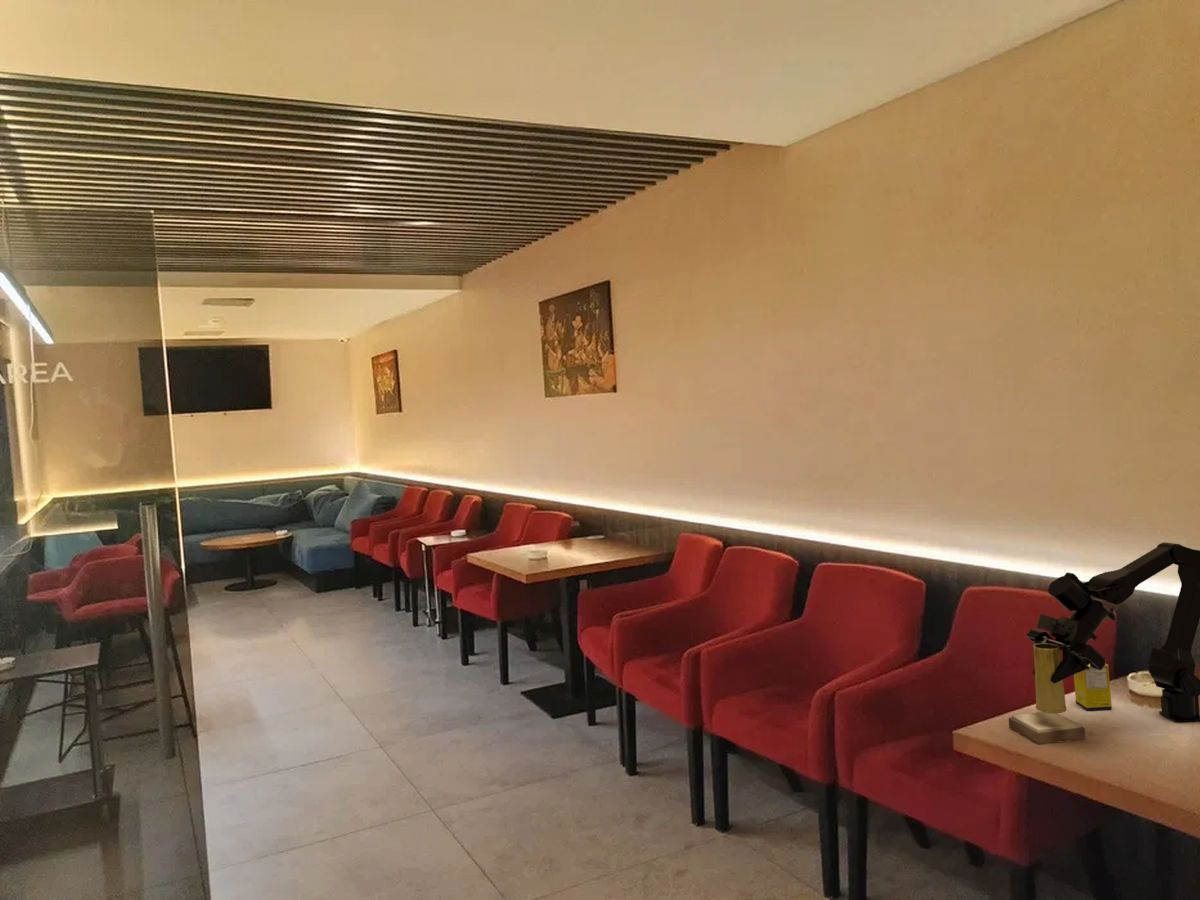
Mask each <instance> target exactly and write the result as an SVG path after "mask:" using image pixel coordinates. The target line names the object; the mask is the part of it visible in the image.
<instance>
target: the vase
mask: <svg viewBox="0 0 1200 900" xmlns="http://www.w3.org/2000/svg"><path fill="white" fill-rule="evenodd" d="M1033 658H1034V659H1033V661H1034V663H1033V664H1034V666H1035V675H1034V683H1035V709H1036V711H1037V710H1038V711H1039V712H1045V713H1057V714H1062V713H1065V712H1067V708H1068V707H1067V706H1066V705H1067V704H1066V696H1065V688H1064V679H1063V680H1061V681H1059V682H1057V683H1052V682H1051V678H1052V676H1053V674H1054V672H1055V671H1056V669H1057V667H1058V666H1059V664H1060V662H1061V661H1062V660H1061V651H1060V647H1059V646H1058V645H1056V644H1051V643H1038V644H1033Z"/></svg>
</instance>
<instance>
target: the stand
mask: <svg viewBox="0 0 1200 900" xmlns="http://www.w3.org/2000/svg"><path fill="white" fill-rule="evenodd" d="M1008 728H1009V729H1010V728H1011V730H1012V731H1014V732H1015V731H1016V733H1017V732H1018V733H1017V734H1019V735H1020V736H1023V737H1024V736H1025V738H1026V739H1028V740H1030V741H1031V740H1032V742H1033V741H1034V742H1033V743H1035V744H1037V745H1045V744H1044V743H1047V744H1052V743H1051V742H1056V743H1060V742H1059V741H1064V742H1068V741H1067V740H1072V741H1079V740H1078V739H1081V740H1086V729H1085V727H1083V726H1082V725H1081V724H1080V723H1077V722H1076V721H1073V720H1072V719H1069V718H1067V717H1065V716H1064V715H1061V714H1060V713H1045V712H1041V711H1039V712H1030V713H1023V714H1022V713H1021V714H1015V715H1011V717H1008Z"/></svg>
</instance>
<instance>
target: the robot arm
mask: <svg viewBox="0 0 1200 900" xmlns="http://www.w3.org/2000/svg"><path fill="white" fill-rule="evenodd" d="M1172 565H1176V566H1177V575H1178V577H1179V581H1180V583H1181V584H1180V585H1181V586H1180V589H1179V593H1178V597H1177V601H1176V604H1175V607H1174V611H1173V616H1172V619H1171V622H1170V626H1169V629H1168V633H1167V637H1166V641H1165V643H1164V644H1163V645H1162V646H1161V647H1160V648H1155V647H1154V648H1152V650H1151V652H1150V653H1151V654H1150V658H1149V661H1148V662H1147V665H1148V666H1149V667H1148V673H1149V674H1150V676H1151V678H1152V679H1153V682H1154V684H1155V687H1157V688H1161V694H1162V695H1161V696H1160V707H1161V710H1159V711H1158V713H1159V714H1160V715H1162V716H1164V717H1166V718H1167V719H1169V720H1172V721H1173V722H1176V723H1185V722H1199V721H1200V701H1199V697H1200V678H1198V677H1197V676H1196V675H1195V672H1196V671H1195V669H1196V663H1195V660H1194V657H1193V654H1192V648H1193V644H1194V640H1195V637H1196V633H1197V630H1198V626H1199V623H1200V549H1193V548H1189V547H1186V546H1184V545H1182V544H1180V543H1175V542H1165V541H1164V542H1161V543H1158V545H1157V546H1156V547H1154V548H1153V549H1151V550H1149V551H1148V552H1146V553H1145V554H1143V555H1141V556H1140V557H1138V558H1136V559H1135V560H1133V561H1131V562H1129V563H1128V564H1126V565H1124V566H1122V567H1121V568H1119V569H1118V568H1117V569H1115V570H1111V571H1104V572H1103V573H1099V574H1096V575H1094V576H1092V577H1090V578H1089V580H1088V581H1085V582H1082V581H1081V580H1080V579H1079V578H1078V576H1077V575H1076V574H1075V573H1073V572H1066V573H1065V574H1064V575H1063V576H1062V575H1061V576H1060V577H1057V578H1056V579H1055V580H1052V581H1051V583H1050V584H1049V586H1048V588H1047V592H1048V594H1049V596H1051V597H1052V598H1053V599H1054V600H1056V602H1058V603H1059V604H1060V605H1062V606H1063V608H1065V609H1066V610H1067V611H1070V612H1072V613H1071V615H1070V616H1069V617H1066V616H1061V615H1060V617H1059V618H1055V617H1052V616H1049V615H1045V614H1040V615H1039V618H1038V621H1037V624H1036V628H1032V629H1030V630H1029V631H1028V633H1027V634H1026V637H1027V639H1028V640H1030V641H1031V642H1032V643H1033V645H1035V644H1038V643H1051V644H1056V645H1058V646H1059V647H1060V652H1062V660H1061V662H1060V664H1059V666H1058V667H1057V669H1056V671H1055V672H1054V674H1053V676H1052V678H1051V682H1052V683H1057V682H1059V681H1061V680H1063V681H1064V680H1065V679H1067V678H1069V677H1071V676H1074V674H1076V673H1078V672H1081V671H1083V670H1089V669H1090V668H1089V667H1088V665H1089V663H1090V666H1091V667H1092V668H1094V669H1097V670H1100V671H1101V670H1102V669H1103V667H1104V666H1105V664H1107V662H1106V657H1105V656H1103V654H1101V653H1100V652H1099V651H1098V650H1097V649H1096V648H1095V647H1094V646H1092V645H1090V644H1088V643H1089V641H1090V640H1091V641H1096V640H1097V637H1098V636H1097V635H1095V633H1096V632H1097V630H1098V629H1099V627H1100V626H1101V624H1102V623H1103V622H1104V620H1110V621H1113V622H1115V621H1116V615H1115V612H1114V608H1113V607H1110V606H1105V605H1104V604H1103V603H1106V604H1111V605H1121V604H1123V603H1125V601H1127V600H1128V599H1129V598H1130V597H1131V596H1132V595H1133V594H1134V593H1135V589H1136V587H1138V586H1139V585H1140V584H1142V583H1143V582H1145V581H1147V580H1149V579H1150V578H1152V577H1154V576H1155V575H1157V574H1159V573H1161V572H1162V571H1163V570H1165V569H1167V568H1169V567H1170V566H1172ZM1102 602H1103V603H1102ZM1042 629H1043V630H1042ZM1044 630H1045V631H1044ZM1046 631H1048V632H1049V633H1048V632H1046ZM1032 674H1033V676H1035V665H1034V666H1033V670H1032Z"/></svg>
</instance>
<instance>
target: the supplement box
mask: <svg viewBox="0 0 1200 900" xmlns="http://www.w3.org/2000/svg"><path fill="white" fill-rule="evenodd" d="M1088 667H1089V668H1090V669H1089V670H1083V671H1081V672H1078V673H1076V674H1074V675H1073V681H1074V692H1075V695H1074V696H1075V705H1077V706H1079V707H1081V709H1083V710H1085V711H1087V712H1089V711H1102V710H1103V711H1105V710H1107V711H1108V710H1112V709H1113V707H1112V696H1111V695H1112V694H1111V681H1110V669H1109V664H1107V663H1106V664H1105V666H1104V667H1103V669H1102V670H1101V671H1100V670H1097V669H1094V668H1092V667H1091V666H1090V663H1089V665H1088Z"/></svg>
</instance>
